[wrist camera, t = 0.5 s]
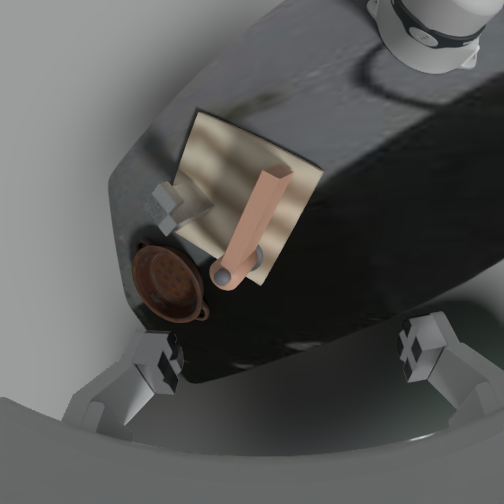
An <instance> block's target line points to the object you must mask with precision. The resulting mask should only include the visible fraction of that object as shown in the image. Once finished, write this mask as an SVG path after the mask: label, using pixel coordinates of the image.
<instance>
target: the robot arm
mask: <svg viewBox="0 0 504 504" xmlns="http://www.w3.org/2000/svg"><path fill="white" fill-rule="evenodd" d="M376 2H377V4H376ZM503 4H504V0H370V1H369V2H368V3H367V10H368V12H369V13H370V15H371V16H372V17H373V18H374V20H375V21H376V23H377V25H378V29H379V33H380V35H381V38H382V40H383V42H384V43H385V45H386V46H387V48H388V49H389V50H390V51H391V53H392V54H393V55H394V56H395V57H397V58H398V59H399V60H400V61H402V62H403V63H404V64H406V65H408V66H410V67H411V68H414V69H416V70H419V71H422V72H426V73H432V74H439V73H445V72H448V71H451V70H453V69H457V68H461V69H472V68H474V66H475V65H476V59H477V51H478V50H479V48H480V47H479V45H478V42H479V36H480V35H481V34H482V32H483V30H484V28H485V26H486V23H487V22H488V21H489V20H491V19H492V18H493V17H494V16H495V15H496V14H497V13H498V12H499V11H500V10H501V9H502V7H503ZM402 326H403V329H404V330H403V331H402V332H401V333H400V334H399V337H398V340H397V349H398V354H399V357H400V359H401V360H403V361H404V362H405V364H404V367H403V370H404V373H405V376H406V379H407V382H414V381H418V380H424V379H428V381H429V382H430V383H431V384H432V385H433V386H434V387H435V388H436V389H437V390H438V391H439V392H440V393H442V395H443V396H444V397H445V398H446V399H447V400H448V401H450V403H451V404H452V405H453V406H454V407H455V408H456V409H457V411H456V412H455V413H454V414H453V416H452V417H451V418H450V419H449V421H448V423H449V427H450V428H449V429H445V430H442V431H439V432H435V433H432V434H428V435H425V436H421V437H418V438H414V439H410V440H405V441H401V442H397V443H393V444H387V445H382V446H377V447H372V448H366V449H360V450H353V451H346V452H337V453H328V454H318V455H303V456H278V457H252V456H227V455H214V454H204V453H194V452H187V451H179V450H172V449H166V448H160V447H154V446H149V445H144V444H139V443H135V442H133V439H134V435H133V433H132V432H131V431H130V430H129V429H128V428H127V427H126V426H125V425H126V423H128V422H129V421H130V419H131V418H132V417H133V416H134V415H135V414H136V413H137V412H138V411H139V410H140V409H141V408H142V407H143V406H144V405H145V404H146V402H147V401H148V400H149V399H150V398H151V397H152V396H153V395H154V393H160V394H173V395H174V394H175V392H176V388H177V384H178V381H179V380H178V378H177V376H176V375H177V374H178V373H179V372H180V371H181V370H182V366H183V353H182V349H181V347H180V346H179V345H177V344H176V343H175V342H176V339H177V338H176V336H175V334H174V332H167V331H150V330H135V331H134V332H133V333H132V335H131V337H130V339H129V341H128V344H127V346H126V348H125V350H124V352H123V354H122V357H121V359H120V361H119V362H115V363H114V364H113V365H111V366H110V367H109V368H107V369H106V370H105V371H104V372H103V373H101V374H100V375H98V376H97V377H96V378H94V379H93V380H92V381H90V382H89V383H88V384H87V385H85V386H84V387H83V388H81V389H80V390H79V391H77V392H76V393H75V394H73V396H72V398H71V401H70V403H69V405H68V407H67V409H66V412H65V414H64V416H63V418H62V421H59V420H56V419H54V418H51V417H49V416H46V415H44V414H41V413H39V412H36V411H34V410H32V409H29V408H27V407H25V406H22V405H20V404H18V403H16V402H14V401H12V400H10V399H8V398H5V397H0V504H504V371H502V370H501V369H500V368H499V367H497V366H496V365H494V364H493V363H491V362H490V361H489V360H487V359H486V358H484V357H483V356H481V355H480V354H479V353H477V352H476V351H474V350H473V349H471V348H470V347H468V346H467V345H465V344H464V343H459V341H458V339H457V337H456V335H455V333H454V331H453V329H452V327H451V326H450V323H449V321H448V320H447V318H446V316H445V314H444V313H443V312H442V311H441V312H436V313H430V314H423V315H417V316H412V317H406V318H405V319H404V320H403V324H402Z"/></svg>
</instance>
